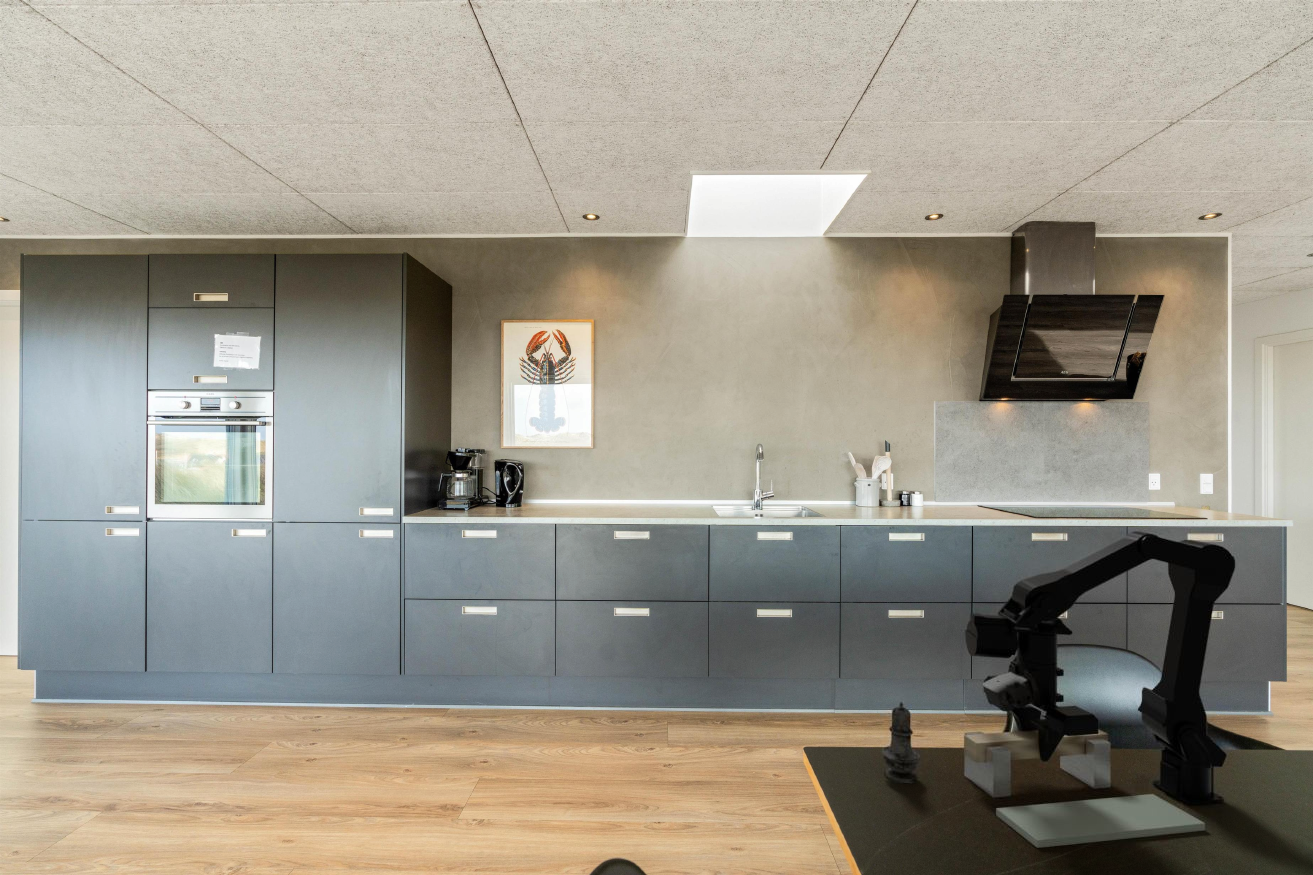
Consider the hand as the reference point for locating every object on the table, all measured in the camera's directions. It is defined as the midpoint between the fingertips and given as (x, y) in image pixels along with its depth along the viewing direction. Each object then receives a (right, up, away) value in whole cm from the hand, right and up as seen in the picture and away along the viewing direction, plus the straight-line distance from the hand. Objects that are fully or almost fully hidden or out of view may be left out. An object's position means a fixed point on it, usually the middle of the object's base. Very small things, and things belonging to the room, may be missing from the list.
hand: (1036, 756), depth 106 cm
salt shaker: (-22, -4, +1) cm, 22 cm away
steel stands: (0, -4, 0) cm, 4 cm away
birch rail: (0, 0, 0) cm, 0 cm away
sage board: (+2, -4, -12) cm, 13 cm away
